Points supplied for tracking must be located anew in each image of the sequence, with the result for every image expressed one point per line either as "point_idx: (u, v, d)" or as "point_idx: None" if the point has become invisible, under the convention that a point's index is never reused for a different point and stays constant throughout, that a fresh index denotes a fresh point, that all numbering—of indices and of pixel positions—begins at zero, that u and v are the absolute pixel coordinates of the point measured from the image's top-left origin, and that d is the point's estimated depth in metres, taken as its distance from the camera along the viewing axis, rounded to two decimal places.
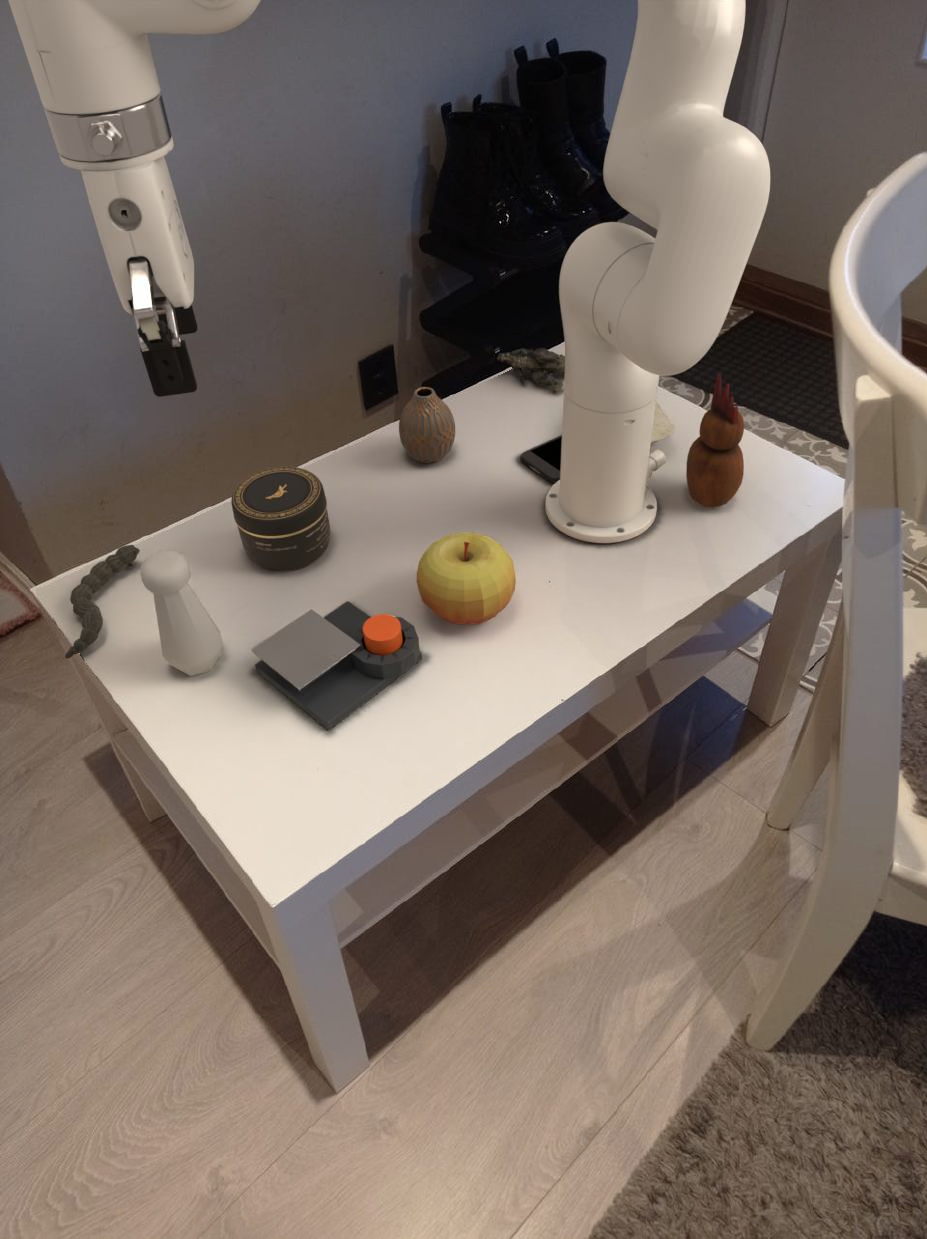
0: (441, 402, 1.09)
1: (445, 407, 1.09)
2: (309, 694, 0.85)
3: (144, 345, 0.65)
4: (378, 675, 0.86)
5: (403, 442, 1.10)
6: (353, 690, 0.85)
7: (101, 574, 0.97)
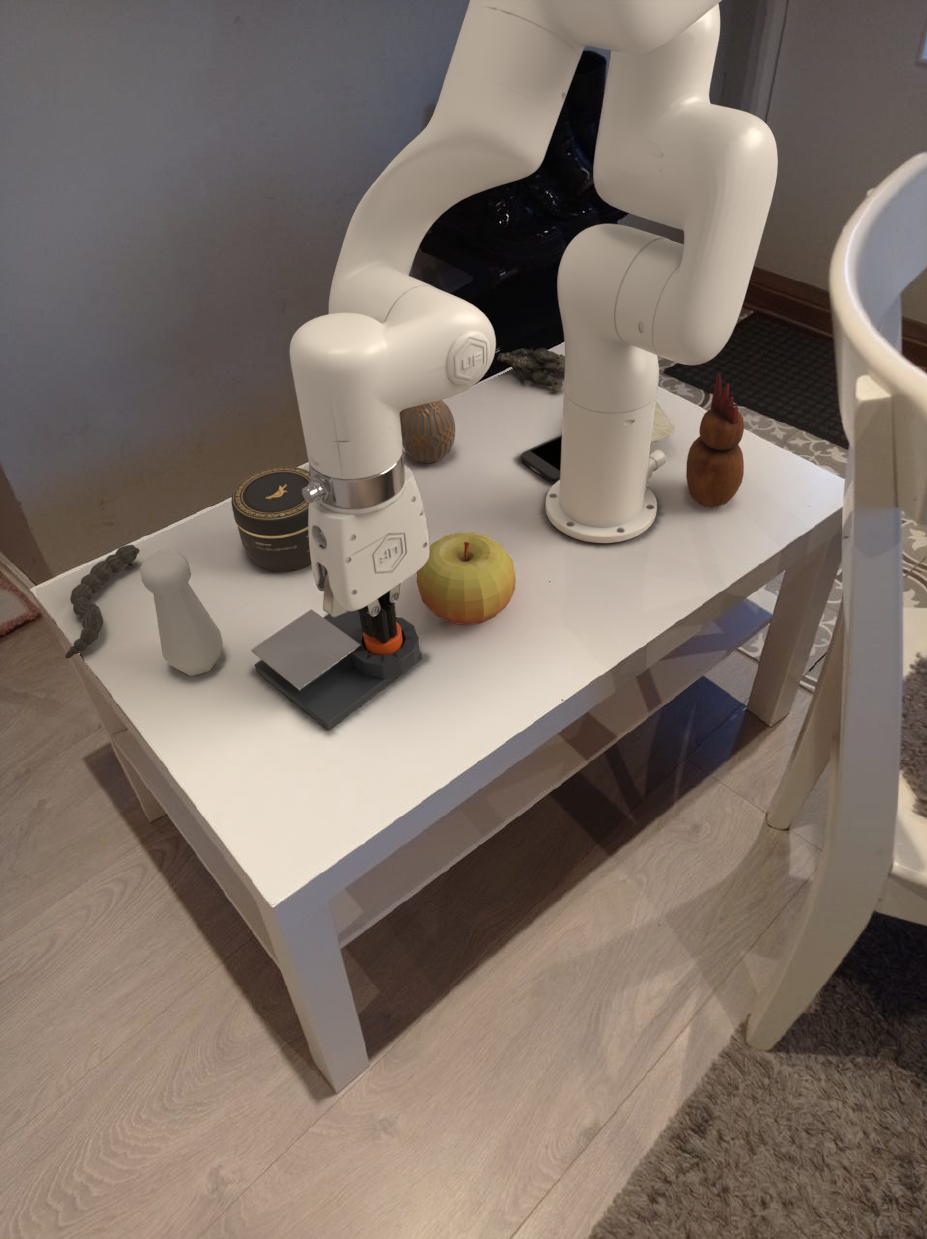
0: (441, 402, 1.09)
1: (445, 407, 1.09)
2: (309, 694, 0.85)
3: None
4: (378, 675, 0.86)
5: (403, 442, 1.10)
6: (353, 690, 0.85)
7: (101, 574, 0.97)
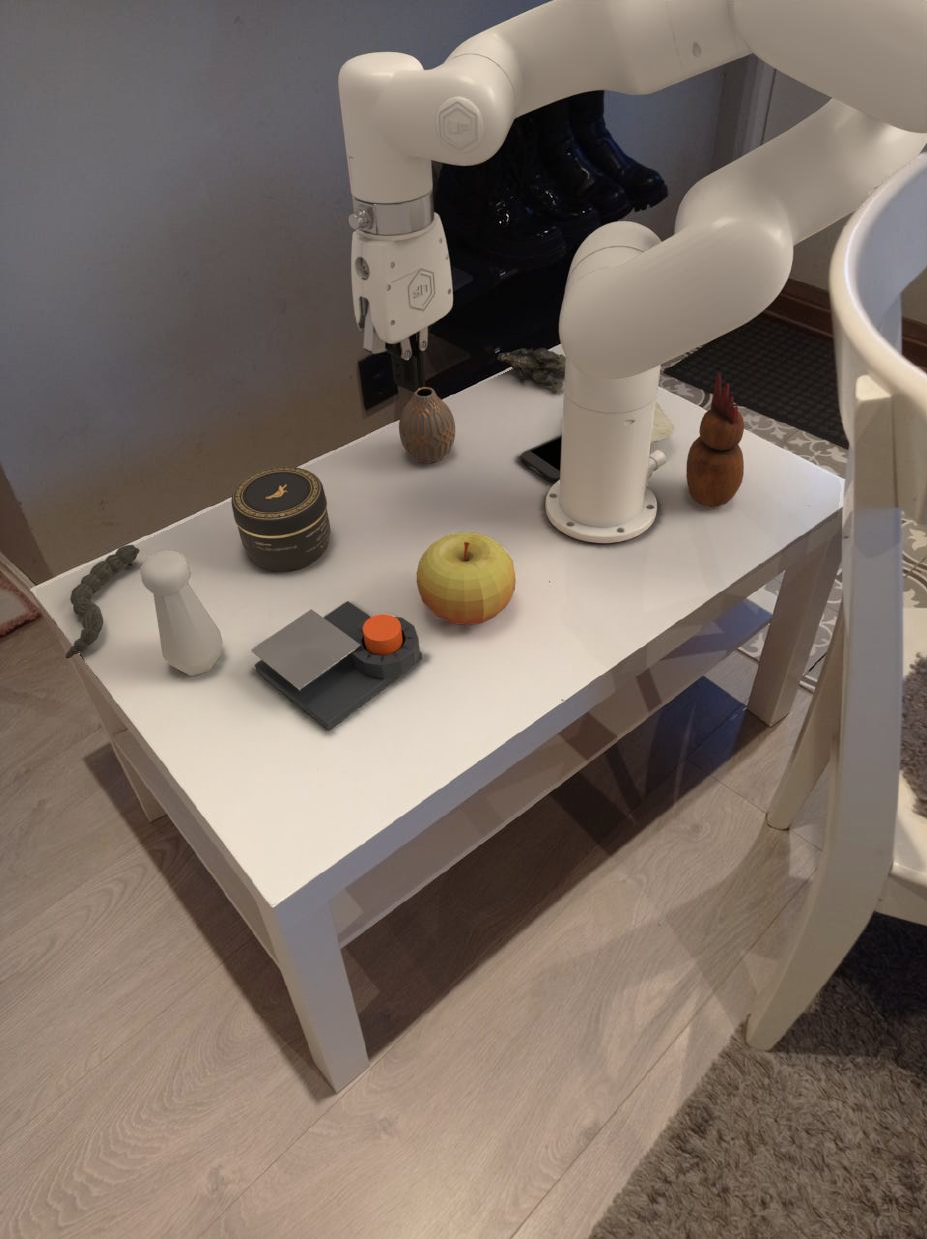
0: (441, 402, 1.09)
1: (445, 407, 1.09)
2: (309, 694, 0.85)
3: (388, 352, 0.94)
4: (378, 675, 0.86)
5: (403, 442, 1.10)
6: (353, 690, 0.85)
7: (101, 574, 0.97)
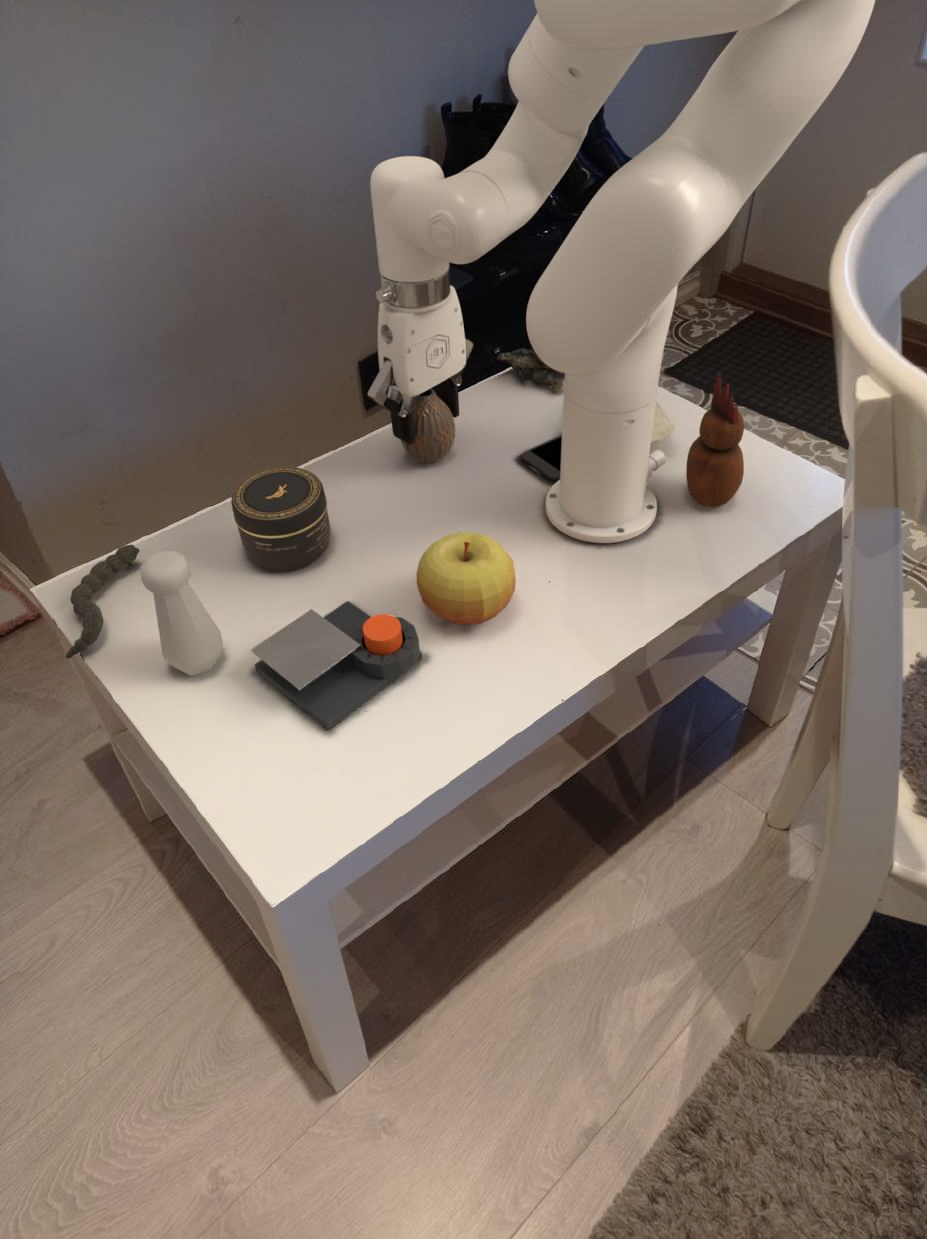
0: (441, 402, 1.09)
1: (445, 407, 1.09)
2: (309, 694, 0.85)
3: None
4: (378, 675, 0.86)
5: (403, 442, 1.10)
6: (353, 690, 0.85)
7: (101, 574, 0.97)
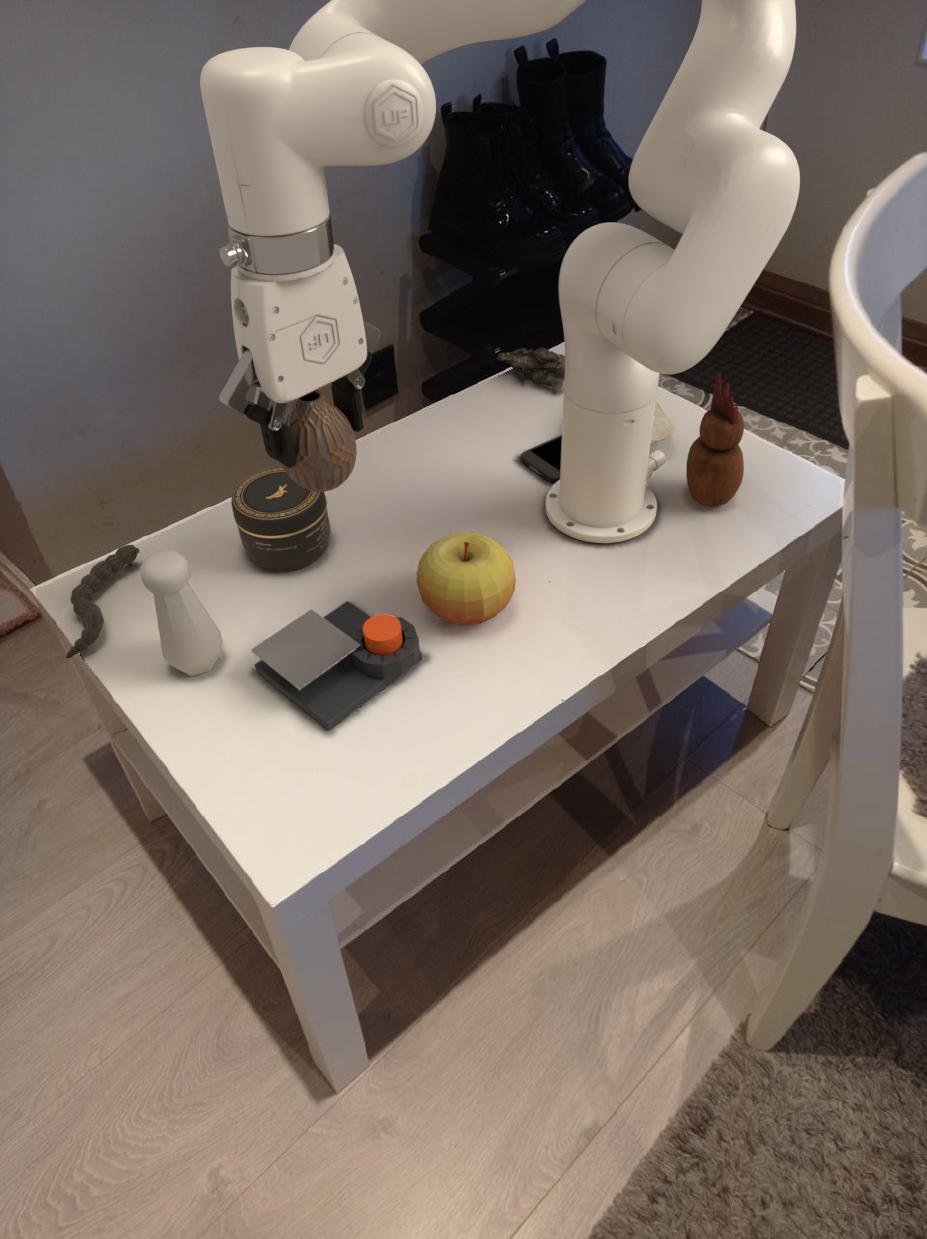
0: (333, 410, 0.79)
1: (340, 416, 0.79)
2: (309, 694, 0.85)
3: None
4: (378, 675, 0.86)
5: None
6: (353, 690, 0.85)
7: (101, 574, 0.97)
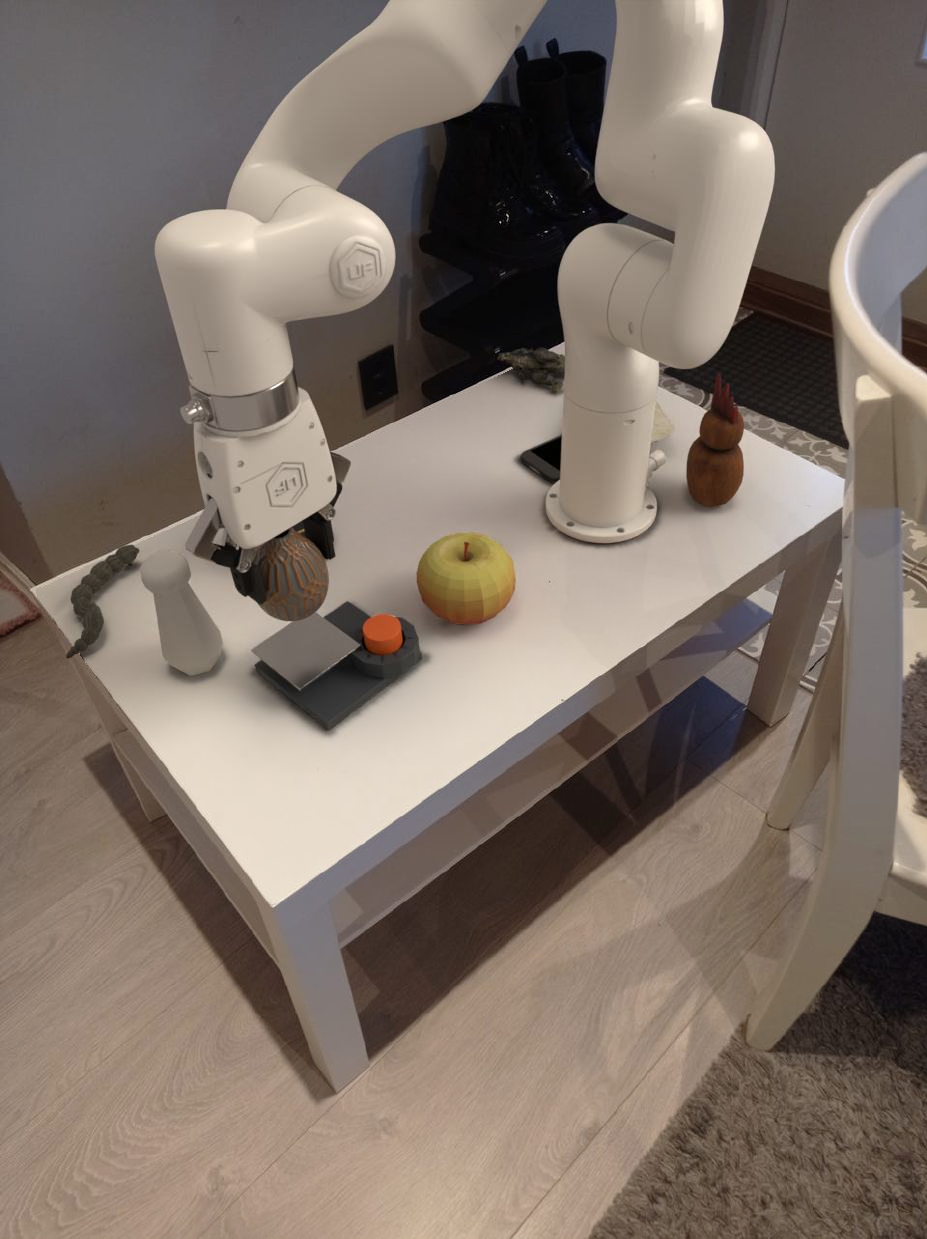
0: (304, 544, 0.77)
1: (311, 549, 0.78)
2: (309, 694, 0.85)
3: None
4: (378, 675, 0.86)
5: None
6: (353, 690, 0.85)
7: (101, 574, 0.97)
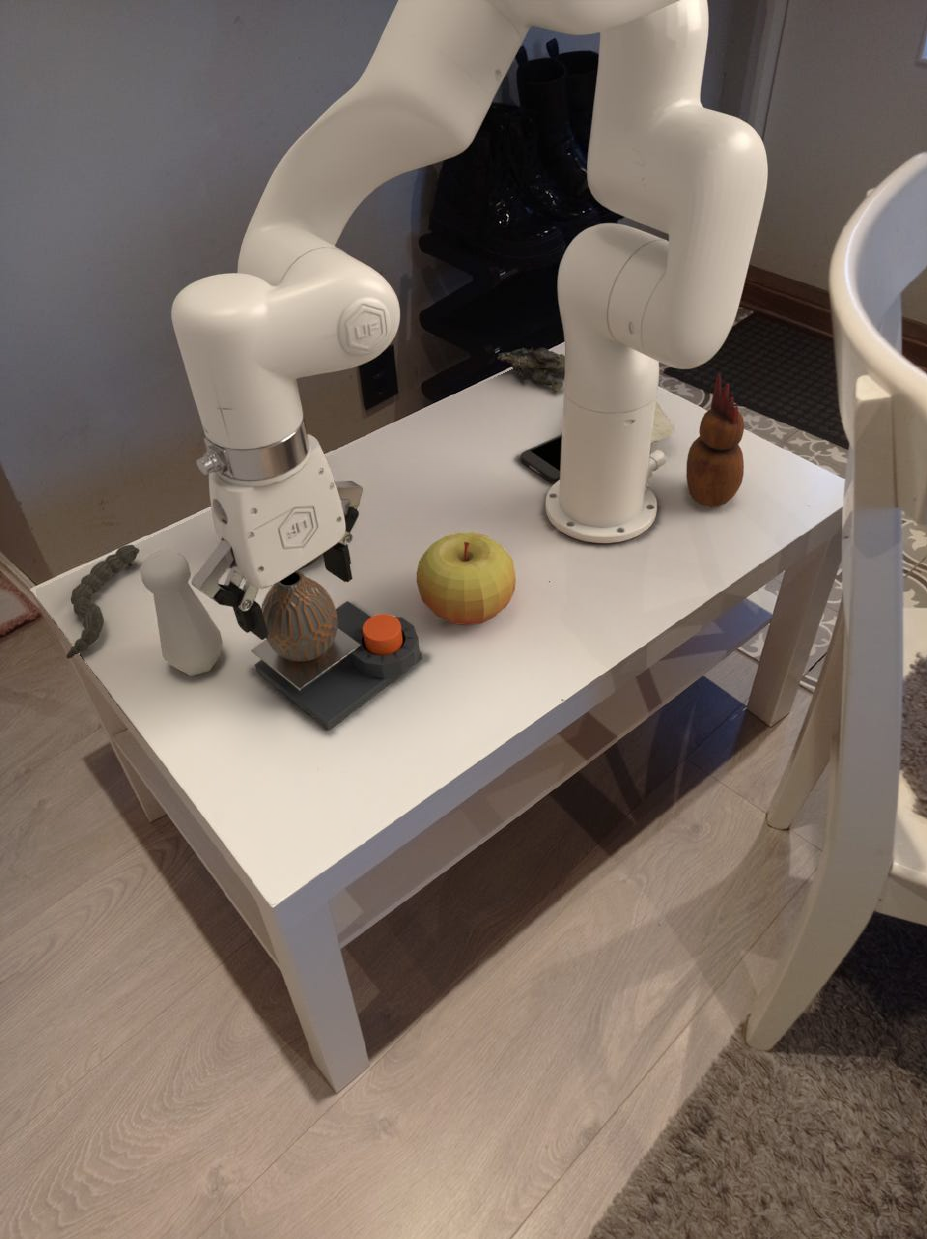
0: (314, 589, 0.81)
1: (320, 594, 0.81)
2: (309, 694, 0.85)
3: None
4: (378, 675, 0.86)
5: (266, 639, 0.83)
6: (353, 690, 0.85)
7: (101, 574, 0.97)
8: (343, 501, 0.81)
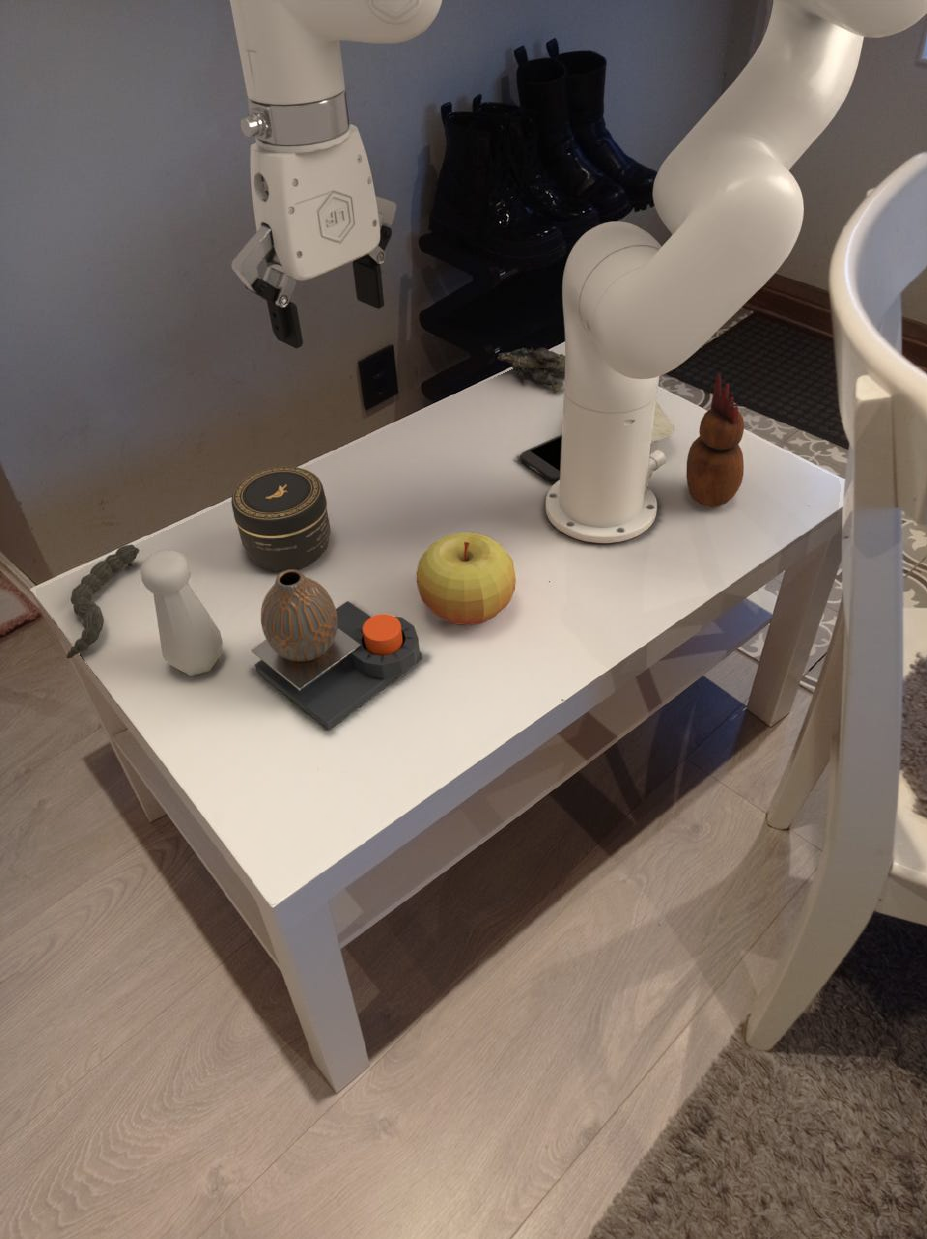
0: (314, 589, 0.81)
1: (320, 594, 0.81)
2: (309, 694, 0.85)
3: None
4: (378, 675, 0.86)
5: (266, 639, 0.83)
6: (353, 690, 0.85)
7: (101, 574, 0.97)
8: None
